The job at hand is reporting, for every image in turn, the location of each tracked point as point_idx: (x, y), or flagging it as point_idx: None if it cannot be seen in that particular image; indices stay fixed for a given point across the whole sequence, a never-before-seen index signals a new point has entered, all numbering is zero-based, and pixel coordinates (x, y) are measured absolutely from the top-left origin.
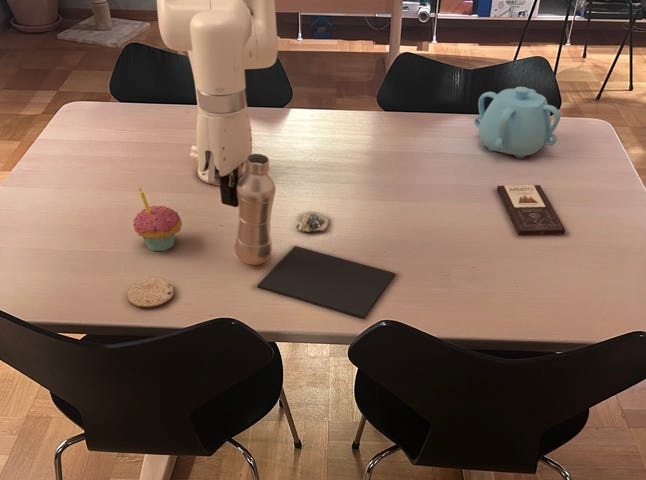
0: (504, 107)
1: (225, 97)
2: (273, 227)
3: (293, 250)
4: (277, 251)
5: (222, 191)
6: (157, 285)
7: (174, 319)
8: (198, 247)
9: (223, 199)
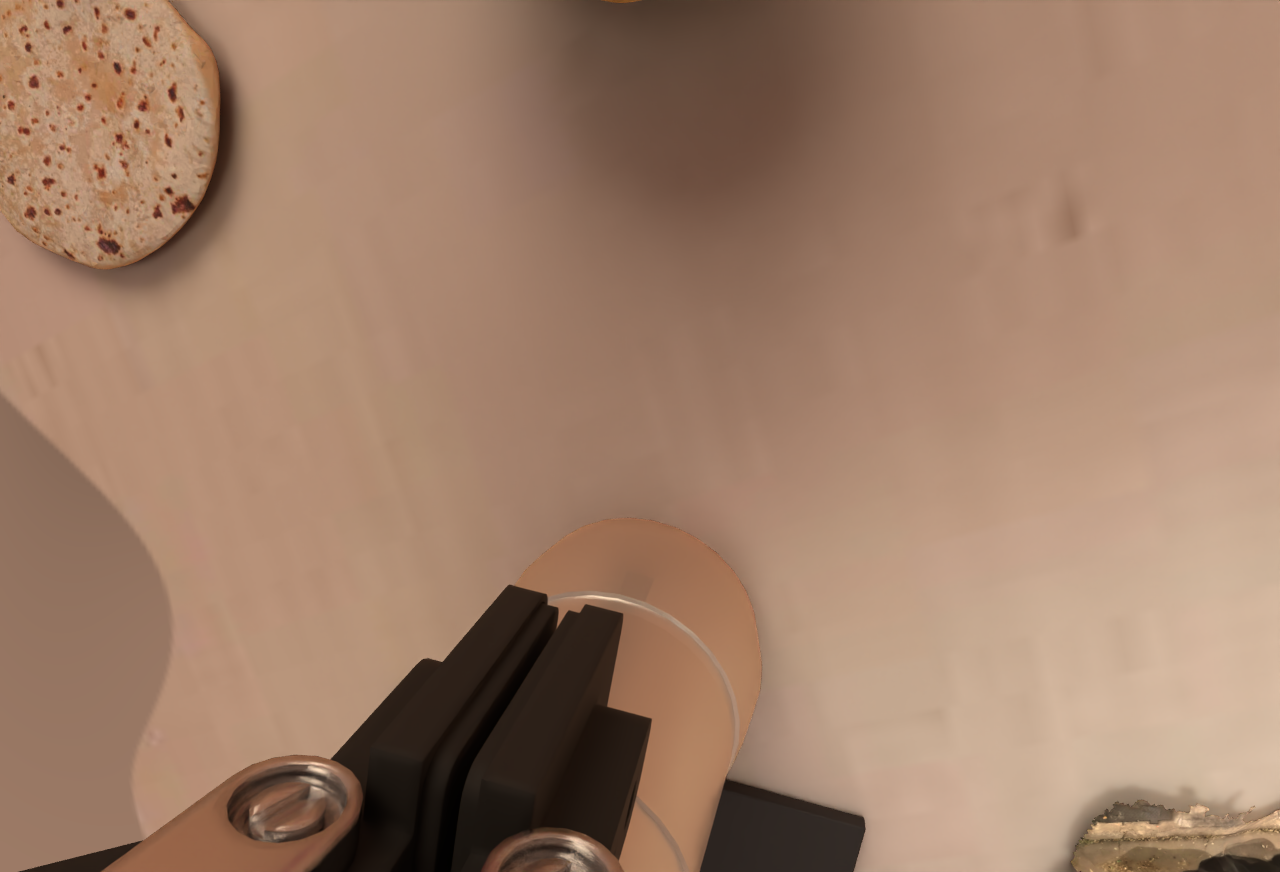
0: None
1: None
2: (1121, 626)
3: (804, 828)
4: (796, 719)
5: (356, 739)
6: (138, 132)
7: (3, 354)
8: (699, 171)
9: (420, 671)
